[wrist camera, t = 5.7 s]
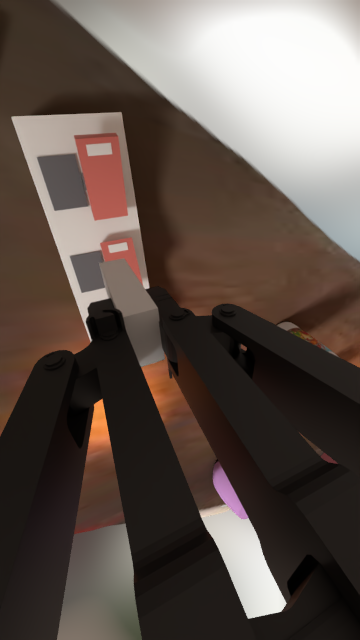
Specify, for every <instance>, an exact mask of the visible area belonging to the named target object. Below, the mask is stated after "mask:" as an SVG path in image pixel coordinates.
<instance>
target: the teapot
mask: <svg viewBox="0 0 360 640" xmlns="http://www.w3.org/2000/svg"><path fill="white" fill-rule="evenodd" d="M213 483H214V486H215V488H216V490H217V492H218V493H219V495H220V497H221V498H222V499H223V501H224V502H225V503H226V504H227V505H228V507H229V508H230V509H232V511H233V512H234V513H236V515H238V516H239V517H240V518H241V519H247V518H248V516H247V514H246V512H245V510H244V508H243V506H242V504H241V503H240V501H239V499H238V497H237V495H236V493H235V491H234V489H233V487H232V486H231V484H230V482H229V480H228V478H227V476H226V474H225V472H224V470H223V469H222V467H221V465H220V463H219V461H218V462H217V463H216V464H215V465H214V468H213Z"/></svg>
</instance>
